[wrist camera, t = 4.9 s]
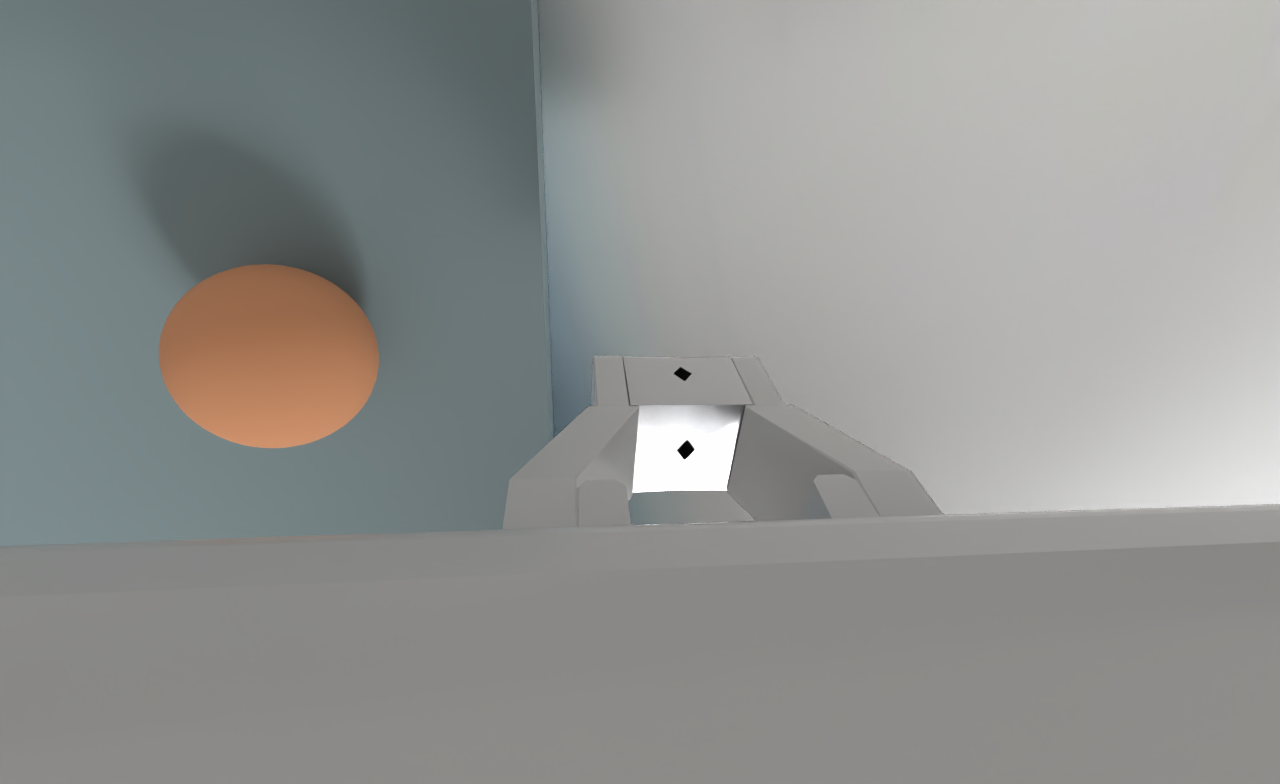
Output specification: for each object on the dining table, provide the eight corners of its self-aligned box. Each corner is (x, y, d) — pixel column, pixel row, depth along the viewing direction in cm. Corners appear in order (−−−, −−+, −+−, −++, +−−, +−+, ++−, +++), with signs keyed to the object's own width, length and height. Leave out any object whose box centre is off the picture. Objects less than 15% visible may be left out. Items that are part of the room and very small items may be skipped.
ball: (380, 239, 11) (316, 315, 8) (410, 382, 13) (366, 484, 10) (194, 236, 11) (61, 314, 8) (253, 384, 13) (162, 490, 10)
